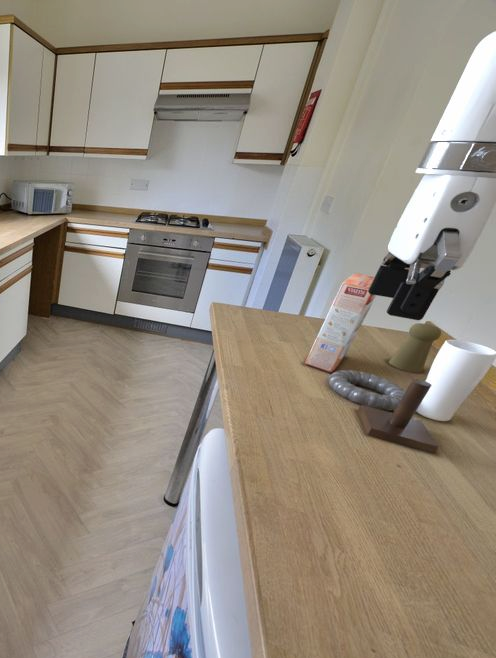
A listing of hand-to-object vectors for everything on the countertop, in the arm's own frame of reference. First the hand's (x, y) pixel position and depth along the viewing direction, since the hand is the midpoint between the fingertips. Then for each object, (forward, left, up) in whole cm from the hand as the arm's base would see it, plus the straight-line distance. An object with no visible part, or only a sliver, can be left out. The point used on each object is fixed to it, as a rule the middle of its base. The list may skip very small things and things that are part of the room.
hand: (391, 305), depth 53 cm
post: (-15, -22, -28) cm, 39 cm away
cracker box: (-8, -50, -28) cm, 58 cm away
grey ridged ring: (-13, -35, -27) cm, 46 cm away
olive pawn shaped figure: (-25, -59, -28) cm, 70 cm away
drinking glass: (-23, -34, -28) cm, 50 cm away
